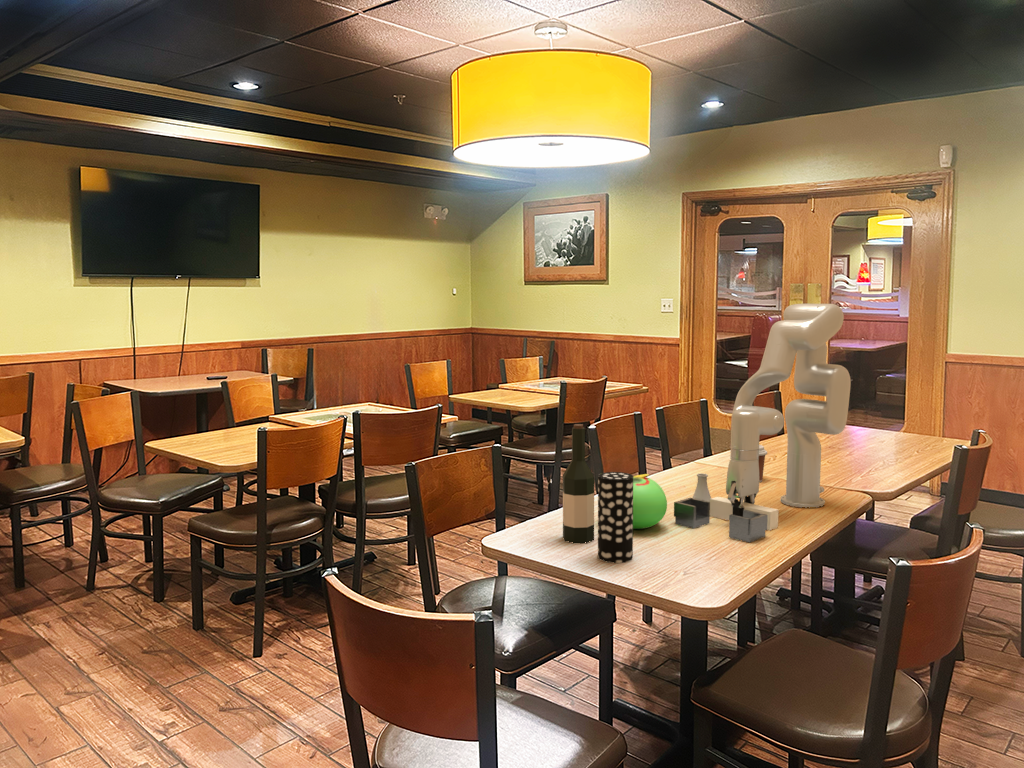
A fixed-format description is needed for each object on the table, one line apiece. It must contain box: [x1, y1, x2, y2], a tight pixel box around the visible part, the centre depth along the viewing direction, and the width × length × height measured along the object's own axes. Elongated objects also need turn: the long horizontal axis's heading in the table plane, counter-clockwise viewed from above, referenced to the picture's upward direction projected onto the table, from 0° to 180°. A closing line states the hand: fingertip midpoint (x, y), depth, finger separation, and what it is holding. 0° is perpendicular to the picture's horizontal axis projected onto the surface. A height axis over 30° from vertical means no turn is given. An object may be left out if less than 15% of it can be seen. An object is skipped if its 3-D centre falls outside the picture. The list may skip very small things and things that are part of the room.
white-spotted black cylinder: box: [597, 471, 634, 564], centre depth 185 cm, size 8×8×20 cm
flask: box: [692, 473, 712, 502], centre depth 230 cm, size 7×7×10 cm
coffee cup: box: [758, 444, 768, 483], centre depth 263 cm, size 9×9×12 cm
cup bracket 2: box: [728, 510, 768, 543], centre depth 201 cm, size 8×6×6 cm
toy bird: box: [633, 473, 668, 530], centre depth 211 cm, size 18×17×15 cm
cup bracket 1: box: [673, 497, 711, 529], centre depth 214 cm, size 8×6×6 cm
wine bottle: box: [562, 423, 595, 544], centre depth 199 cm, size 8×8×30 cm
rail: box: [710, 496, 779, 531], centre depth 215 cm, size 4×19×5 cm, turn 41°
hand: (742, 518), depth 215 cm, fingers closed on rail, 4 cm apart
